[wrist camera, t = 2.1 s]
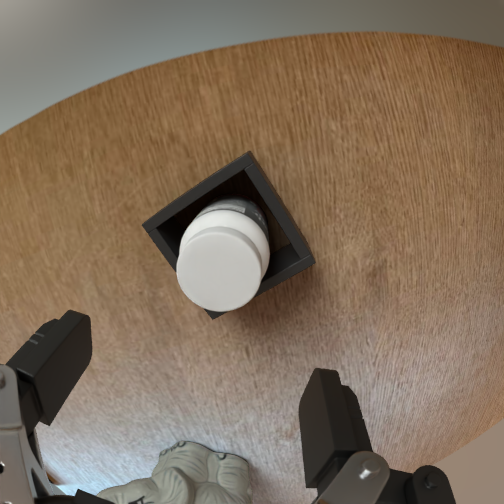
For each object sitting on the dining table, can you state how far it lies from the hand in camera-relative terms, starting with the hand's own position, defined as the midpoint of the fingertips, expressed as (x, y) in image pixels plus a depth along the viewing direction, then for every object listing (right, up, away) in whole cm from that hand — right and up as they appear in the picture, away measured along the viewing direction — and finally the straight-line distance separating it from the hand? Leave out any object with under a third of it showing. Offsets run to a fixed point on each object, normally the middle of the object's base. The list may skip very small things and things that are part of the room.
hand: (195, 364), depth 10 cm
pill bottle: (0, +6, +16) cm, 17 cm away
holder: (0, +6, +16) cm, 17 cm away
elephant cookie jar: (-7, -25, +28) cm, 38 cm away
